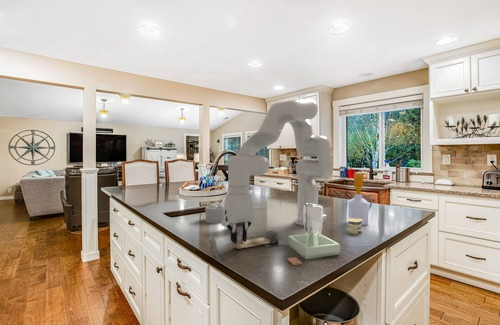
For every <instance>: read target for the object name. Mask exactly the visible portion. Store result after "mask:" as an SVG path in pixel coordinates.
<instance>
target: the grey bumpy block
mask: <svg viewBox="0 0 500 325" xmlns="http://www.w3.org/2000/svg"><path fill="white" fill-rule="evenodd" d="M204 210H205V214H204V216H205V221H204V222H205V223H207V224H221V223H222V221H223V212H224V202H218V201H217V202H213V203H210V204H209V205H208V206H205V209H204ZM227 223H228V221H227Z"/></svg>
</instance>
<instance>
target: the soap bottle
mask: <svg viewBox="0 0 500 325" xmlns="http://www.w3.org/2000/svg"><path fill="white" fill-rule="evenodd" d="M353 179H354V180H353V188H354V189H355V190H356V192H354V197H353V198H351V199H350V200H348V207H347V208H348V212H347V213H348V214H347V219H349V218H357V219H363V221H361V222H363V224H362V226H367V225H369V202H368V201H367V200H366V199H365V198H363V193H362V192H361V191H362V189H364V173H362V172H361V173H356V172H355V173H354V174H353ZM347 222H349V221H348V220H347Z"/></svg>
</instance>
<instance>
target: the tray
mask: <svg viewBox="0 0 500 325" xmlns="http://www.w3.org/2000/svg"><path fill="white" fill-rule="evenodd" d="M304 243H305V233H303V234H301V233H300V234H293V235H288V236H287V246H288V247H290V248H291V249H292V250H293V251H295V252H296V253H297V254H298V255H300V256H301V257H302V258H303V259H305V260H309V259H316V258H317V259H319V258H323V257H331V256H339V255H340V254H341V244H340V243H338V242H337V241H335V240H333V239H331V238H329V237H327V236H326V235H323V234H322V233H321V245H319V246H311V247H306V246H305V245H304Z"/></svg>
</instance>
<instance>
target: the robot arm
mask: <svg viewBox="0 0 500 325" xmlns="http://www.w3.org/2000/svg"><path fill="white" fill-rule="evenodd" d="M318 108H319V107H318V104H317V102H316V101H315V100H314V99H311V98H307V99H306V98H304V99H293V100H288V101H281V102H276V103H273V104H272V105H271V106H270V108H269V109H268V111H267V113H266V115H265V117H264V119H263V121H262V123H261V125H260V127H259V128H258V130H257V131H256V132H255V133H253V134H252V135H251V136H250V137H249V138H248V139H247V140H245V142H243V143H242V145H240V146H241V147H240V148H239V150H238V151H237V153H236V155H230V156H229V158H228V165H227V167H228V171H227V173H228V174H227V175H228V179H227V180H228V183H227V184H228V185H227V188H228V189H227V193H226V194H225V198H224V202H223V203H224V212H223V221H222V223H220V225H221V226H223V227H225V228H226V229H228V231H229V230H230V233H229V234H230V235H229V236H230V241H231V243H233V245H234V244H236V243H237V232H235V230H236V223H242V222H243V241H244V242H246V240H247V238H248V230H249V228H250V226H251V225H252V224H254V223H255V222H256V218H255V216H254V205H253V198H252V194H251V191H252V190H253V186H251V185H250V180H251V179H250V178H251V176H263V175H265V174H266V173H268V171H269V170H270V161H269V159H268V158H267V157H266V156H264V155H261V154H259V155H258V154H256V153H258V152H259V151H261V150H262V149H264V148H267V147H269V146H271V145H273V144H274V143H276V142H278V140H279V138H280V136H281V133H282V131H283V129H284V127H285V124H290V126H291V128H292V130H293V135H294V143H295V148H296V153H297V154H298V156H301V157H308V158H301V159H300V160H298V161H297V162H296V165H295V170H296V177H297V218H295V219H294V224H295V225H298V226H302V227H304V222H303V210H304V204H306V203H317V204H319V203H318V202H319V201H318V200H319V197H318V196H319V195H318V193H319V188H318V184H317V182H316V180H328V179H330V178H332V176H333V172H334V164H333V157H332V156H333V154H332V146H331V142H330V140H329V138H328V137H326V136H324V135H314V133H313V127H312V124H311V122H310V120H312V119H314V118H315V117H316V116H317V114H318V110H319V109H318ZM309 157H312V158H309ZM313 157H315V158H313ZM315 179H316V180H315ZM325 219H327V215H326V214H323V220H325ZM227 221H228V222H227ZM228 223H230V224H228Z"/></svg>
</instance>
